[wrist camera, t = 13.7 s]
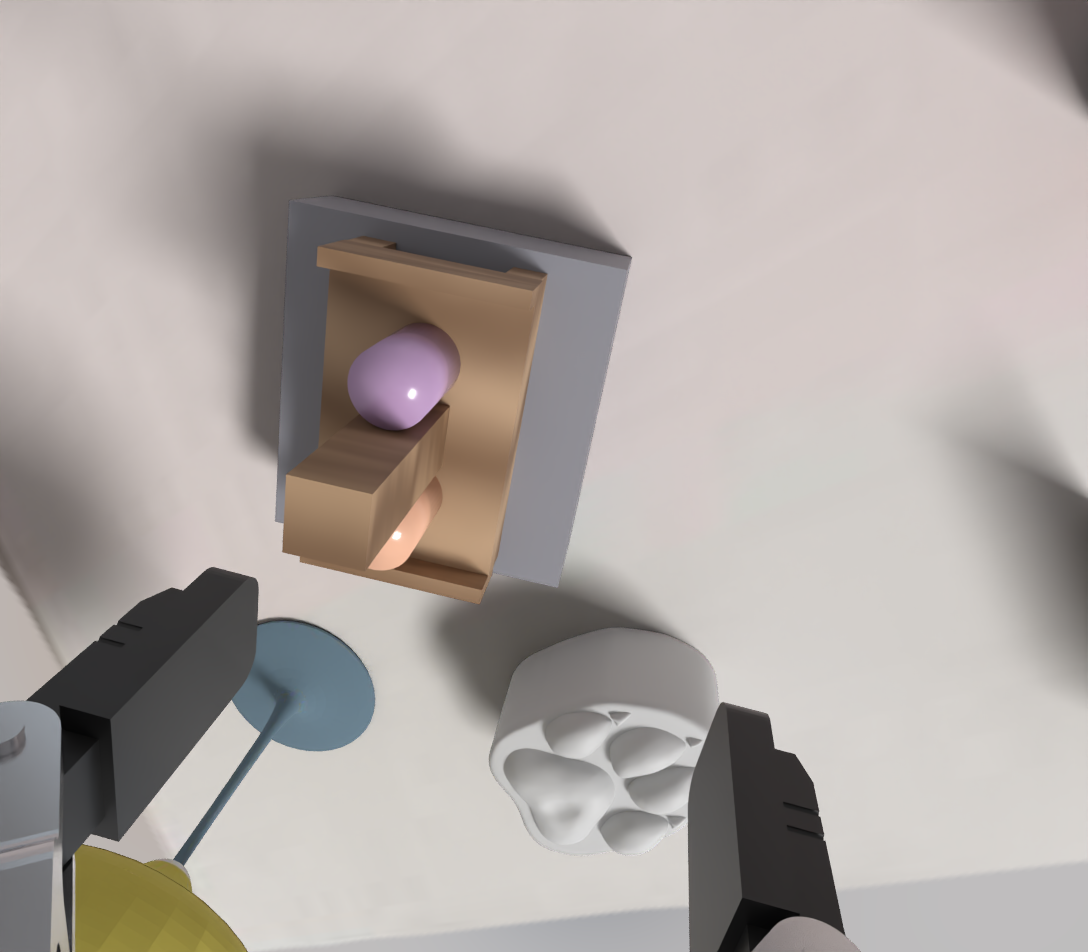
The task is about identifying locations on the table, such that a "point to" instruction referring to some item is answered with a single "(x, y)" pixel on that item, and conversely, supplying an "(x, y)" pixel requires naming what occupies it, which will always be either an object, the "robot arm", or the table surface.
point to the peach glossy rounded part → (410, 529)
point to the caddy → (434, 442)
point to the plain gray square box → (556, 373)
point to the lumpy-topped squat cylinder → (604, 739)
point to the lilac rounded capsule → (403, 376)
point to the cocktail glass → (225, 796)
